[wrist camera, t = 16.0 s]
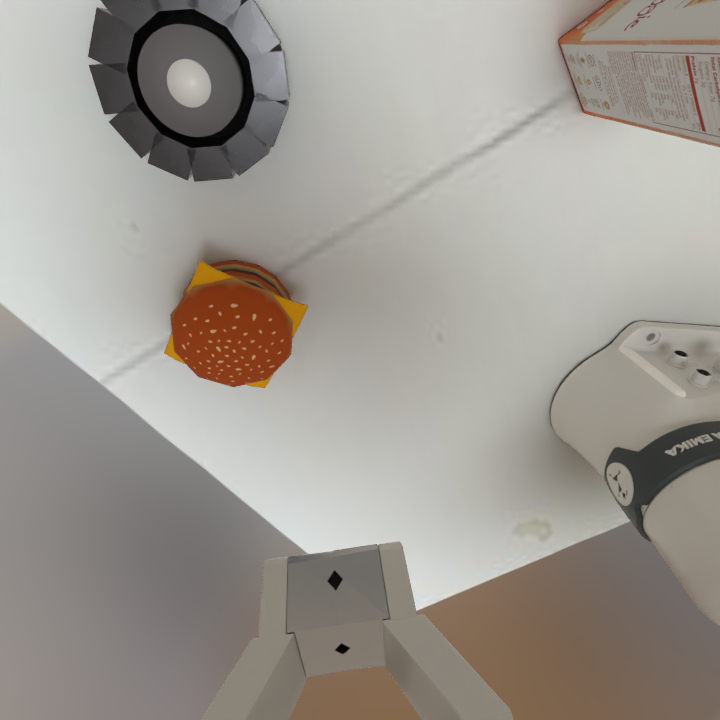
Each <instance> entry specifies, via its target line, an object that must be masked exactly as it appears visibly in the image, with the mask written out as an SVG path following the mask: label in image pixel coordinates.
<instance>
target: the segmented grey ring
mask: <svg viewBox="0 0 720 720" xmlns="http://www.w3.org/2000/svg"><path fill="white" fill-rule="evenodd" d="M101 1H102V3H103V4H104V5H105V6H106V8H107V9H103V8H97V9H96V15H95V20H94V26H93V32H92V37H91V43H90V49H89V55H88V57H90V58H92V59H94V60H96V61H98V62H100V63H102V64H96V65H89V67H90V70H91V73H92V77H93V80H94V83H95V86H96V89H97V92H98V95H99V98H100V102H101V105H102V108H103V111H104V114H115V113H118V114H117V115H116V116H115V117H114V118H113V119H112V120H111V121H109V122H110V124H111V125H112V126H113V127H114V128H115V129H116V130H117V131H118V133H119V134H120V135H121V136H122V137H123V138H124V139H125V140H126V142H127V143H128V144H129V145H130V146H131V147H132V148H133V149H134V151H135V152H136V153H137V154H138V155H139V156H140V157H141V158H142V157H144V156H145V155H146V154H148V153H149V152H150V151H151V152H150V156H149V160H148V163H149V164H151V165H154V166H156V167H158V168H160V169H163V170H165V171H167V172H170V173H172V174H174V175H176V176H179V177H181V178H183V179H186V180H188V179H189V178H190V177H191V175H192V174H193V177H194V182H196V181H207V180H218V179H230V178H233V177H234V175H235V173H236V172H237V174H238V175H239V176H240V175H241V174H242V173H244V172H245V171H246V170H247V169H249V168H250V167H251V166H253V165H254V164H255V163H256V162H258V161H259V160H260V159H262V158H263V157H264V156H266V155H267V154H268V153H269V152H270V148H271V146H272V147H273V146H274V144H275V141H276V138H277V136H278V133H279V130H280V128H281V125H282V122H283V120H284V117H285V114H286V112H287V109H288V104H289V101H287V100H289V95H290V93H289V85H288V77H287V69H286V61H285V53H284V50H282V49H281V46H280V43H281V41H280V39H279V38H278V36H277V35H276V33H275V32H274V30H273V28H272V27H271V25H270V23H269V22H268V20H267V19H266V17H265V16H264V14H263V13H262V11H261V9H260V8H259V6H258V5H257V3H256V1H254V0H101ZM173 24H186V25H193V26H199V27H204V28H208V29H210V30H213V31H215V32H217V33H218V34H220V35H221V36H223V37H224V38H225V39H226V40H227V41H228V42H229V43H230V44H231V45H232V46H233V47H234V49H235V50H236V52H237V53H238V55H239V57H240V59H241V61H242V63H243V66H244V69H245V73H246V80H247V89H246V95H245V99H244V102H243V105H242V107H241V108H240V110H239V111H238V113H237V114H236V115H235V116H234V118H233V119H232V120H231V121H230V122H229V123H228V124H227V125H226V126H225V127H224V128H223V129H222V130H220V131H219V132H217V133H215V134H212V135H209V136H204V137H192V136H187V135H183V134H180V133H178V132H175V131H174V130H172V129H170V128H169V127H167V126H166V125H164V124H163V123H162V122H161V121H160V120H159V119H158V118H157V117H156V116H155V115H154V114H153V112H152V111H151V110H150V108H149V107H148V105H147V103H146V102H145V100H144V97H143V95H142V93H141V90H140V86H139V82H138V73H137V71H138V59H139V55H140V52H141V49H142V47H143V45H144V44H145V42H146V40H147V39H148V38H149V37H150V36H151V35H152V34H153V33H154V32H156V31H157V30H159V29H160V28H162V27H165V26H168V25H173Z"/></svg>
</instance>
